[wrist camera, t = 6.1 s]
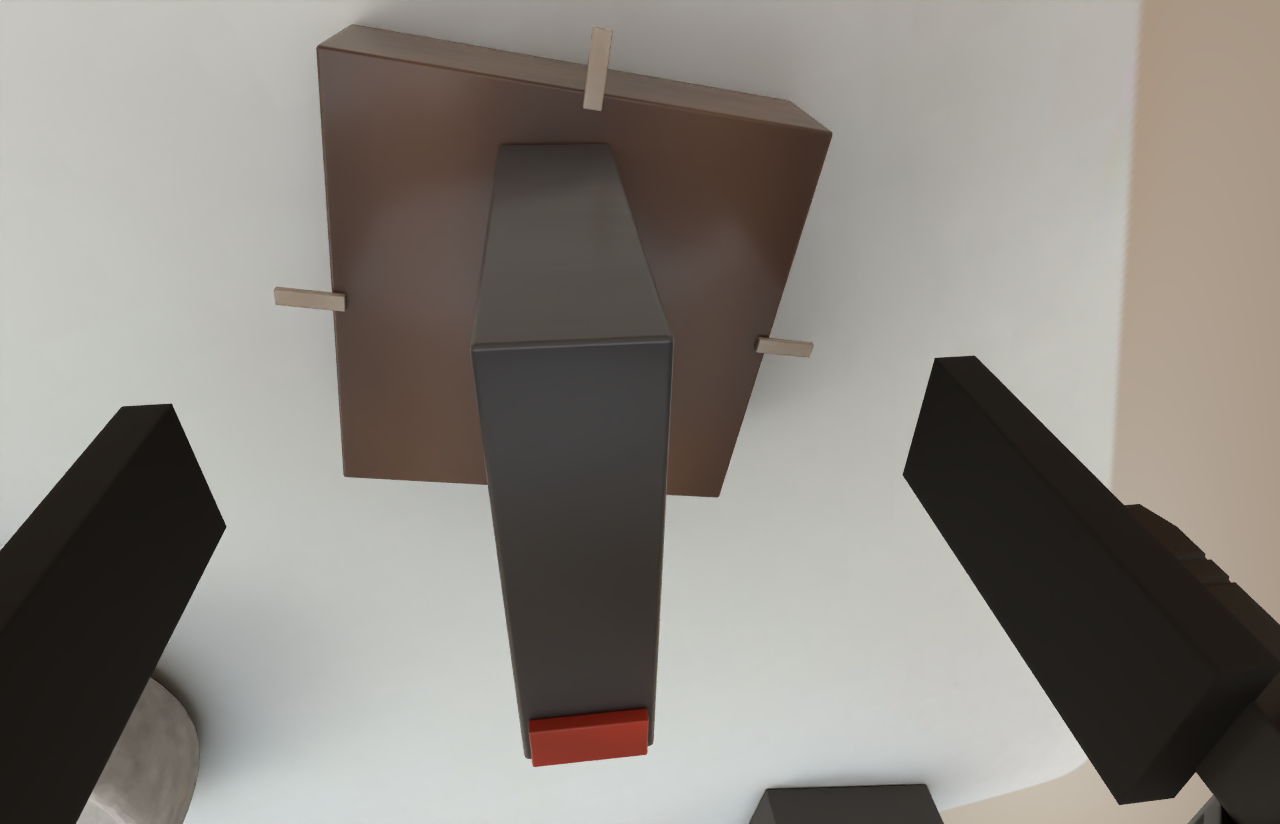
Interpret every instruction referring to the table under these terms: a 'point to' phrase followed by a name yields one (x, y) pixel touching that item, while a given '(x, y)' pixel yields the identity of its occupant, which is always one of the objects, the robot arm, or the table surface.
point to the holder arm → (574, 447)
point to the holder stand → (457, 222)
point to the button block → (848, 806)
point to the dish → (148, 766)
